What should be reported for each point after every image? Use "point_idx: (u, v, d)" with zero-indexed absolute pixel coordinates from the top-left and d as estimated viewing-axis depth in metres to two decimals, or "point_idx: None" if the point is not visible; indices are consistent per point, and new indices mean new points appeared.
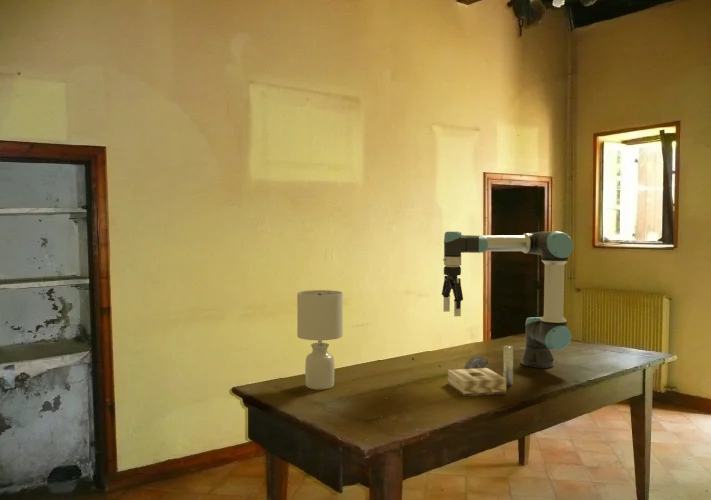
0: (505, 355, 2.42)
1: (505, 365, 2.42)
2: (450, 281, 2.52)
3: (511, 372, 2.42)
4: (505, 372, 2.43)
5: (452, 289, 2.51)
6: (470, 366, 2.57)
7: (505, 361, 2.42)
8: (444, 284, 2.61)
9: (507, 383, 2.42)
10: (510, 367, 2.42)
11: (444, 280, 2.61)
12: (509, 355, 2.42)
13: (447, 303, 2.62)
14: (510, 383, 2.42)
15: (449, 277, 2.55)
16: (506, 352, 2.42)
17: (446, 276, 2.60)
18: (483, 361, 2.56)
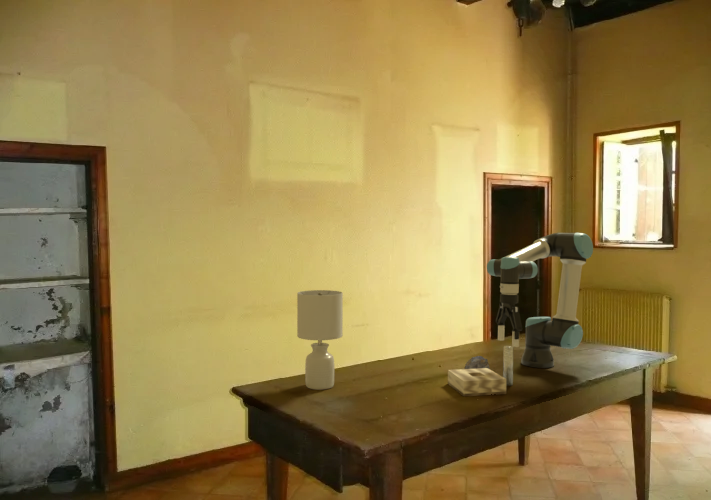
0: (505, 355, 2.42)
1: (505, 365, 2.42)
2: (507, 309, 2.40)
3: (511, 372, 2.42)
4: (505, 372, 2.43)
5: None
6: (470, 366, 2.57)
7: (505, 361, 2.42)
8: (499, 312, 2.49)
9: (507, 383, 2.42)
10: (510, 367, 2.42)
11: (499, 307, 2.49)
12: (509, 355, 2.42)
13: (502, 332, 2.49)
14: (510, 383, 2.42)
15: (505, 305, 2.43)
16: (506, 352, 2.42)
17: (501, 303, 2.48)
18: (483, 361, 2.56)
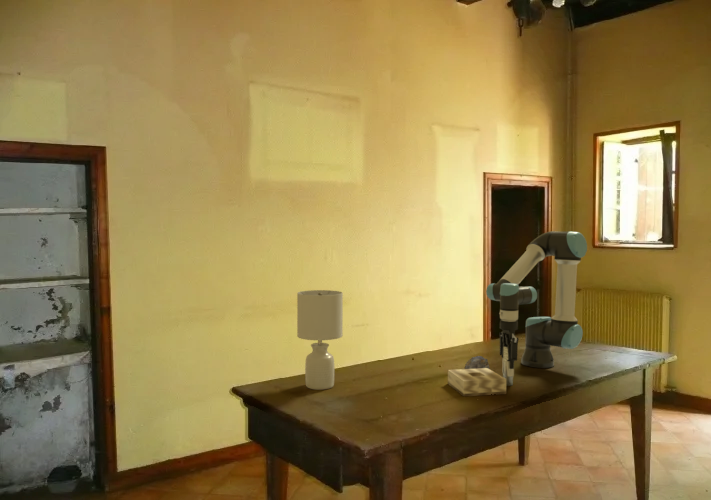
0: (505, 355, 2.42)
1: (505, 365, 2.42)
2: (507, 337, 2.41)
3: None
4: (505, 372, 2.43)
5: (507, 345, 2.42)
6: (470, 366, 2.57)
7: (505, 361, 2.42)
8: (500, 341, 2.48)
9: (507, 383, 2.42)
10: None
11: (500, 337, 2.49)
12: None
13: None
14: (510, 383, 2.42)
15: (505, 331, 2.43)
16: (506, 352, 2.42)
17: (501, 332, 2.49)
18: (483, 361, 2.56)
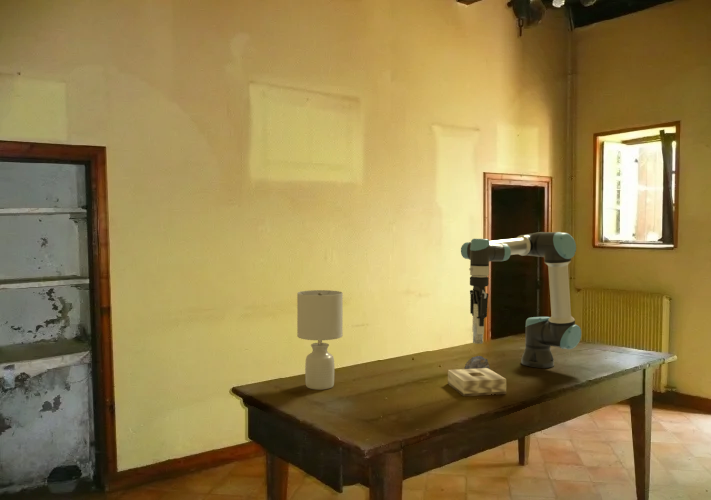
0: (475, 312, 2.35)
1: (475, 323, 2.35)
2: (477, 293, 2.33)
3: None
4: (475, 330, 2.35)
5: (477, 302, 2.34)
6: (470, 366, 2.57)
7: (475, 318, 2.35)
8: (471, 299, 2.40)
9: (477, 341, 2.35)
10: None
11: (470, 295, 2.41)
12: None
13: None
14: (480, 341, 2.35)
15: (475, 288, 2.36)
16: (476, 309, 2.34)
17: (472, 290, 2.41)
18: (483, 361, 2.56)
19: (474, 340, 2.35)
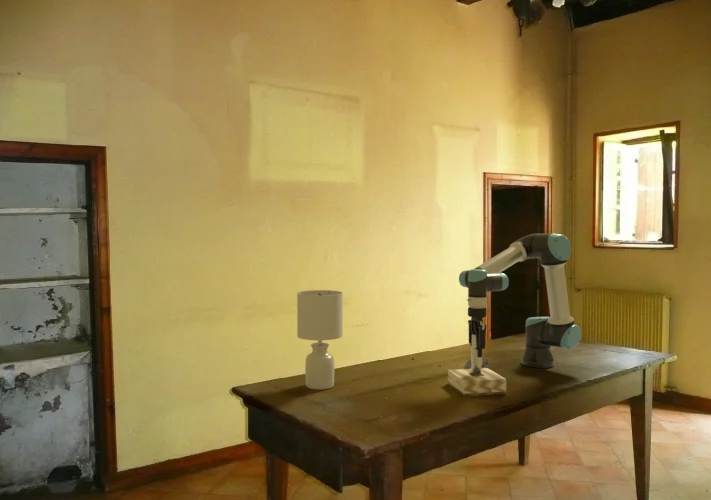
0: (473, 343, 2.35)
1: (473, 353, 2.35)
2: (475, 324, 2.34)
3: None
4: (473, 361, 2.35)
5: (475, 333, 2.34)
6: (470, 366, 2.57)
7: (473, 349, 2.35)
8: (469, 329, 2.41)
9: (475, 372, 2.35)
10: None
11: None
12: None
13: None
14: (478, 372, 2.35)
15: (474, 319, 2.36)
16: (474, 340, 2.35)
17: (470, 320, 2.41)
18: (483, 361, 2.56)
19: (472, 371, 2.36)
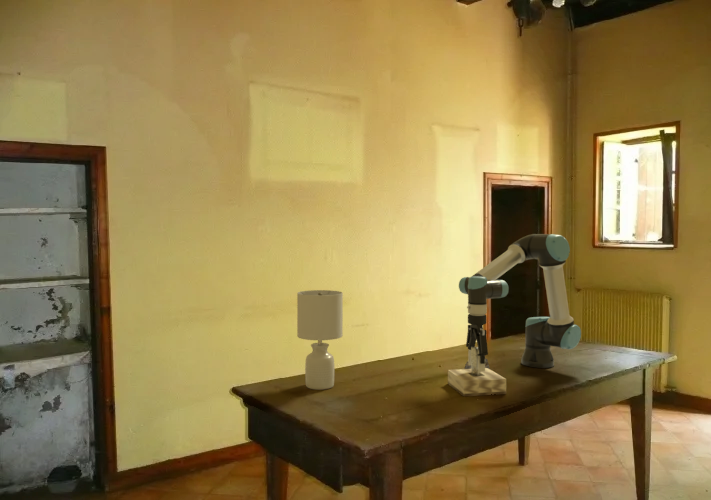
0: (473, 356, 2.36)
1: (473, 366, 2.36)
2: (475, 331, 2.34)
3: (479, 373, 2.35)
4: (473, 373, 2.36)
5: None
6: (470, 366, 2.57)
7: (473, 362, 2.36)
8: (468, 334, 2.42)
9: None
10: None
11: (468, 330, 2.42)
12: (476, 356, 2.35)
13: None
14: None
15: (473, 326, 2.36)
16: (473, 352, 2.35)
17: (470, 325, 2.42)
18: None
19: None
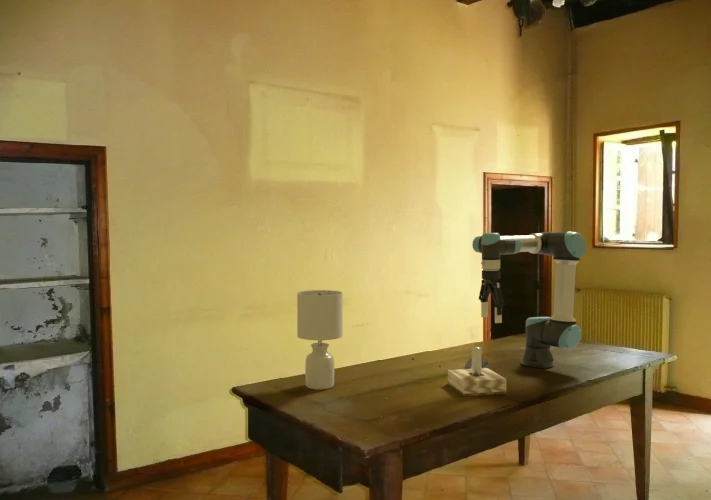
0: (473, 356, 2.36)
1: (473, 366, 2.36)
2: (489, 286, 2.39)
3: (479, 374, 2.35)
4: (473, 374, 2.36)
5: (492, 294, 2.38)
6: (470, 366, 2.57)
7: (473, 362, 2.36)
8: (481, 288, 2.48)
9: None
10: (478, 368, 2.35)
11: None
12: (477, 356, 2.35)
13: (485, 308, 2.48)
14: None
15: (488, 281, 2.41)
16: (474, 353, 2.35)
17: (483, 280, 2.47)
18: (483, 361, 2.56)
19: None
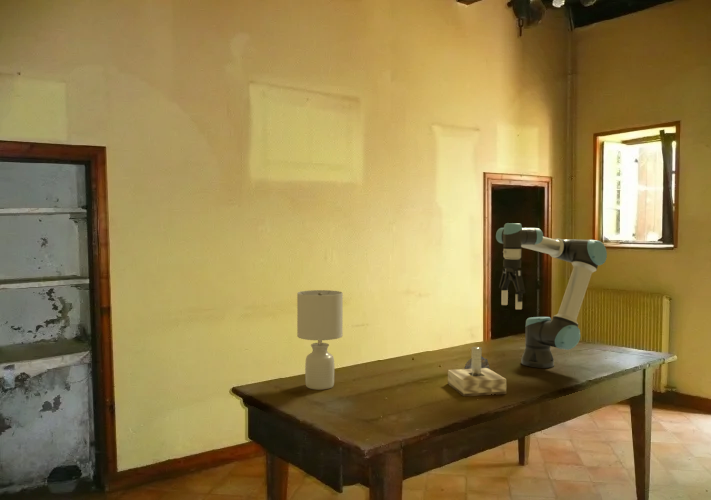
0: (473, 356, 2.35)
1: (473, 366, 2.36)
2: (510, 274, 2.48)
3: (479, 374, 2.35)
4: (473, 374, 2.36)
5: (513, 282, 2.47)
6: (470, 366, 2.57)
7: (473, 362, 2.35)
8: (502, 277, 2.57)
9: None
10: (478, 368, 2.35)
11: (502, 273, 2.57)
12: (477, 356, 2.35)
13: (505, 296, 2.58)
14: None
15: (509, 270, 2.51)
16: (474, 353, 2.35)
17: (504, 269, 2.56)
18: (483, 361, 2.56)
19: None
